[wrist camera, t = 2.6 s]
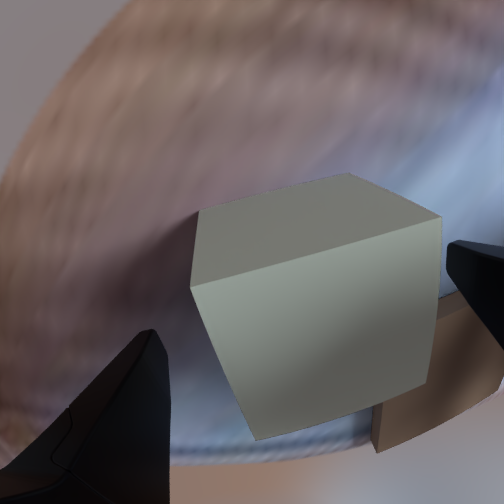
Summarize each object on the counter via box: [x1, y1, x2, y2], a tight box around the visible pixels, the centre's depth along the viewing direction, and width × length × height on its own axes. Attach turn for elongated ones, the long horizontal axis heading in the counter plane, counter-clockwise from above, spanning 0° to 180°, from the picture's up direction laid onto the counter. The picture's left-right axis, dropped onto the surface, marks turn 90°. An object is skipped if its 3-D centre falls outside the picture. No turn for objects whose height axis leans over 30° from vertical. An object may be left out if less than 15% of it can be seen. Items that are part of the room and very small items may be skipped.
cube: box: [190, 173, 442, 441], centre depth 9 cm, size 5×5×5 cm
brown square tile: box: [371, 291, 504, 453], centre depth 14 cm, size 10×10×1 cm
